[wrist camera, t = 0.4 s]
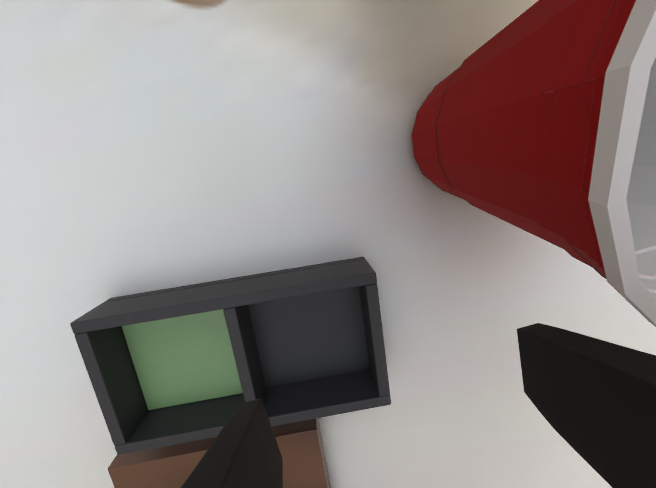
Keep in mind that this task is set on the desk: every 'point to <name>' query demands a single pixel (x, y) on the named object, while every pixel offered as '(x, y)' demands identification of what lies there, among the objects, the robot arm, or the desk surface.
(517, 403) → the desk surface
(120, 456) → the brown flat block
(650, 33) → the plastic cup
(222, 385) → the tray
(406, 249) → the desk surface
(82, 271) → the desk surface
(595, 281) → the desk surface
